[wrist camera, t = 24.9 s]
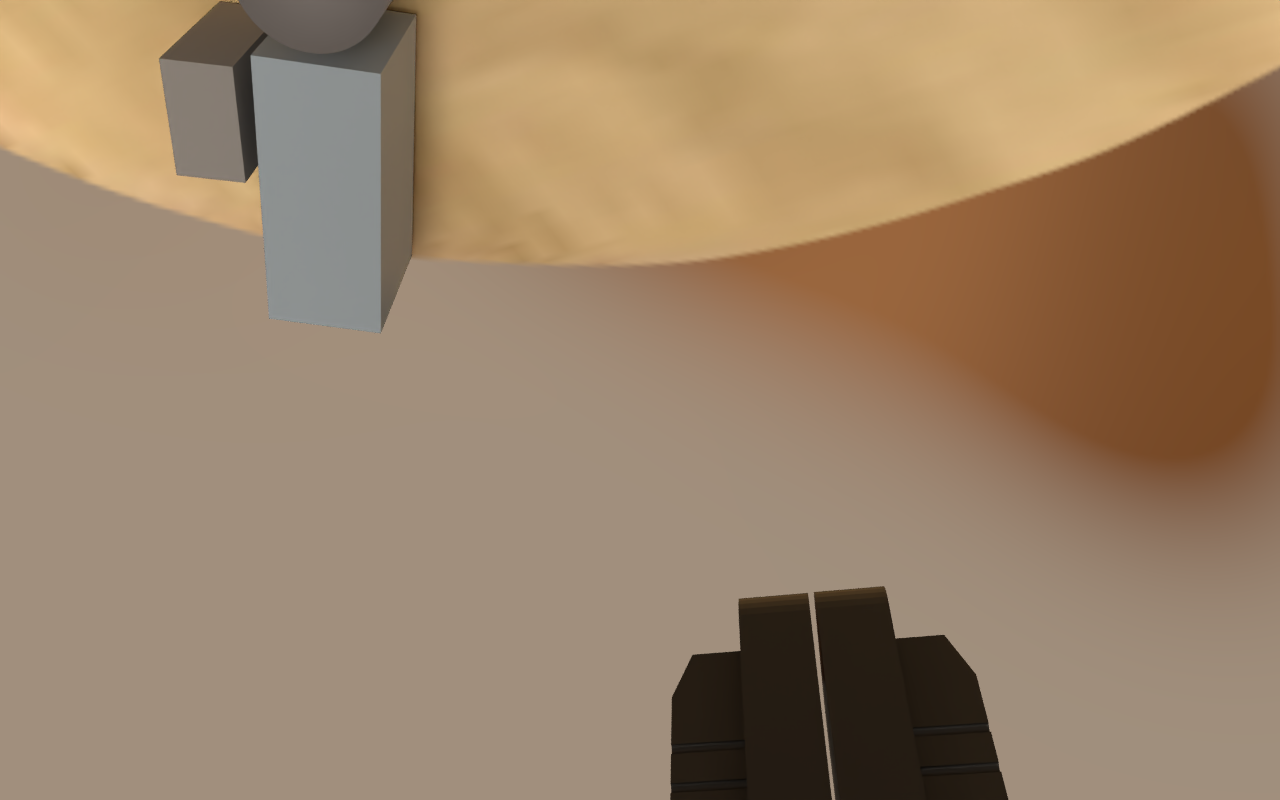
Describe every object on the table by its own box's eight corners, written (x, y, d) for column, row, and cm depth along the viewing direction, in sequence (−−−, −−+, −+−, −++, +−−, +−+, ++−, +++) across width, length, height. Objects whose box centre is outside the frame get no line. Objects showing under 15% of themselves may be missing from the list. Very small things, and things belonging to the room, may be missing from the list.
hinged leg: (285, -165, 32) (220, -121, 27) (428, -143, 32) (386, -95, 28) (304, 240, 40) (256, 326, 35) (418, 256, 40) (385, 343, 35)
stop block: (232, 108, 37) (176, 175, 33) (219, 1, 35) (159, 58, 31) (293, 115, 37) (245, 182, 33) (284, 8, 35) (232, 66, 31)
